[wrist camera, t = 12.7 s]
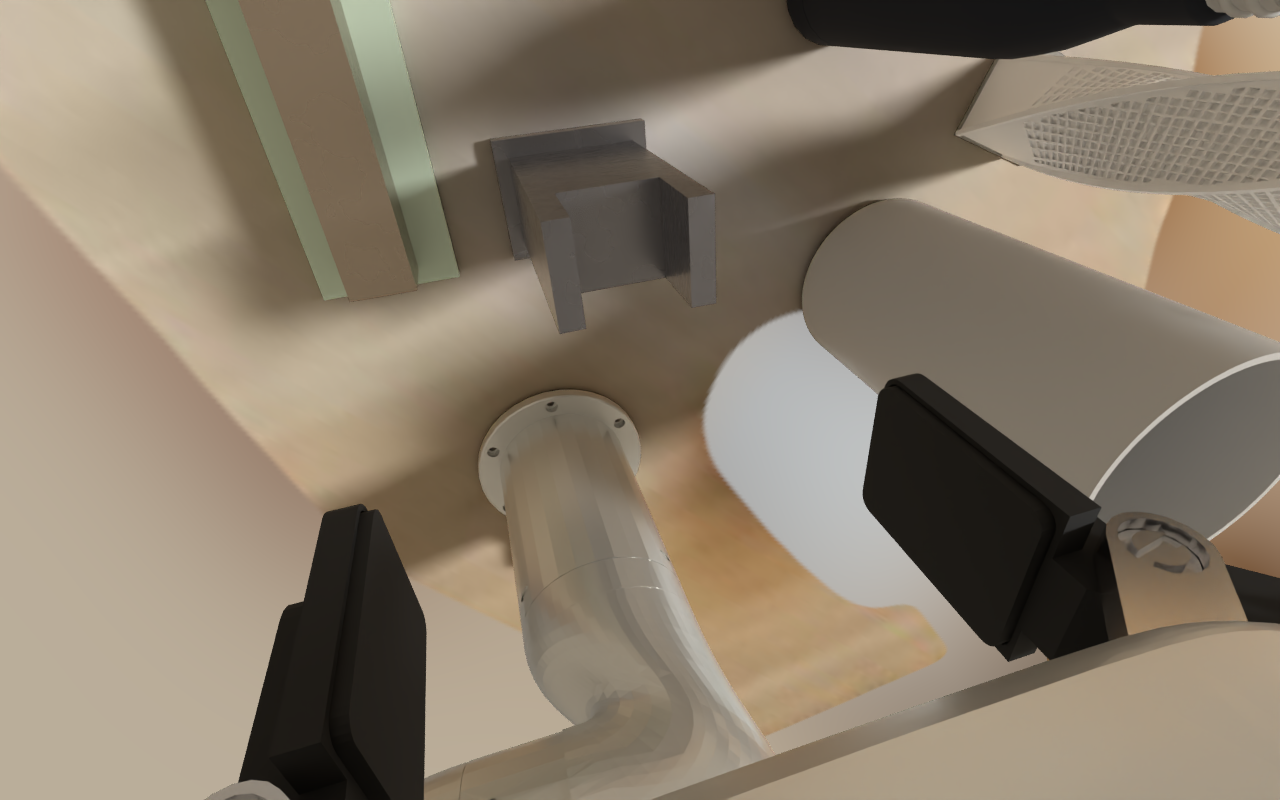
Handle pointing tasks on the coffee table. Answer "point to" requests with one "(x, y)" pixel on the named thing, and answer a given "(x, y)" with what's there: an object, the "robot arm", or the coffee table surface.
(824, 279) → the cylinder vase
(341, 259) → the rail
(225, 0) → the mat
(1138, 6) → the wine bottle
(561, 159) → the post
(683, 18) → the coffee table surface
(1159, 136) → the skyscraper
